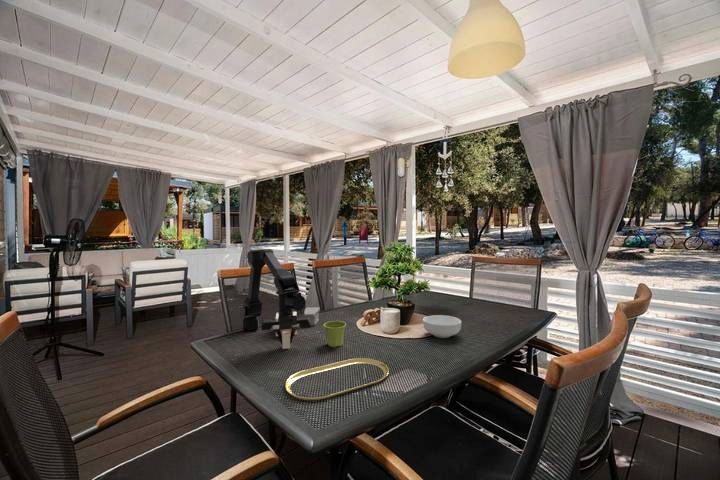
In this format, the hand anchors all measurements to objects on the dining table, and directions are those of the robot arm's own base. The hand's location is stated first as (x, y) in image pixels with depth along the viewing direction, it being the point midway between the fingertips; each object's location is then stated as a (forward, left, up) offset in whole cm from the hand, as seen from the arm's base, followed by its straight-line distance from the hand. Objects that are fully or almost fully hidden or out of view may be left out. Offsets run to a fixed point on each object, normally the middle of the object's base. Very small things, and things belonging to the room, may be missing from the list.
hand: (286, 344), depth 129 cm
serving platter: (+17, -31, -2) cm, 35 cm away
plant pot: (+20, -1, -2) cm, 20 cm away
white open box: (0, +20, -2) cm, 20 cm away
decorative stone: (+12, +33, -2) cm, 35 cm away
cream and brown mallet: (0, +8, -2) cm, 8 cm away
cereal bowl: (+69, 0, -2) cm, 69 cm away
